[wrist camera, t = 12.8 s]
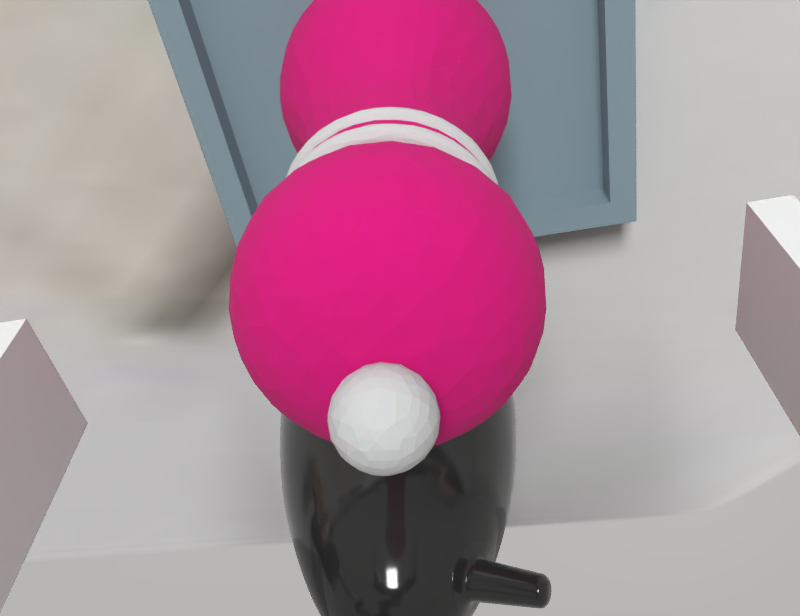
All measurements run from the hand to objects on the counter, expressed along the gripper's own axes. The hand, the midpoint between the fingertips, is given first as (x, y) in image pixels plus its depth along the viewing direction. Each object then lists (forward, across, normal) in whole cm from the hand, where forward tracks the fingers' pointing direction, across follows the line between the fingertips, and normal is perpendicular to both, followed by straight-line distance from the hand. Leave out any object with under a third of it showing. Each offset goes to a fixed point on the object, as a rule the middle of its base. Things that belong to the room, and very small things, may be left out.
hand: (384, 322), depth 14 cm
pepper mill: (+17, 0, 0) cm, 17 cm away
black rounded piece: (+18, +2, +15) cm, 23 cm away
